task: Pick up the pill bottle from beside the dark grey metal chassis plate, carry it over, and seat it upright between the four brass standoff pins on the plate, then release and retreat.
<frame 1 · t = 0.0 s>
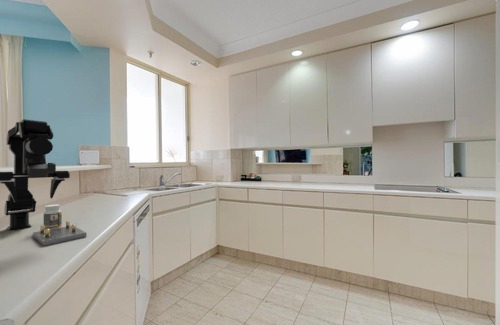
hand: (34, 199, 78), 15 cm above the countertop, fingers open, 9 cm apart
pill bottle: (52, 229, 93), on the countertop
chassis: (59, 236, 83), on the countertop
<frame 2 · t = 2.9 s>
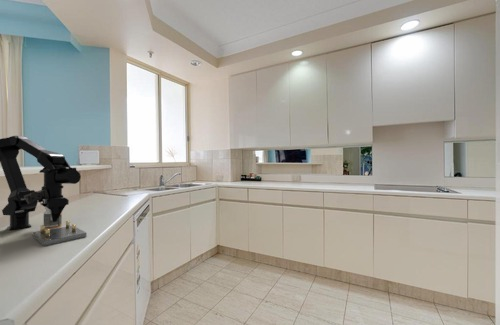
hand: (52, 220, 93), 4 cm above the countertop, fingers closed on pill bottle, 6 cm apart
pill bottle: (52, 229, 93), on the countertop, touching gripper
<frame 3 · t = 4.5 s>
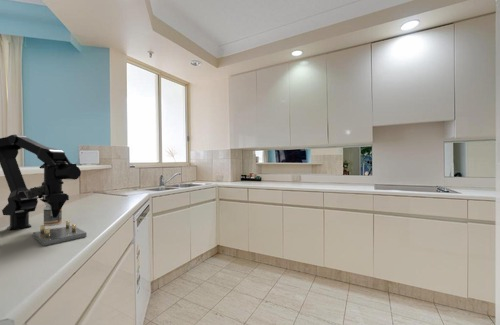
hand: (52, 216, 93), 5 cm above the countertop, fingers closed on pill bottle, 6 cm apart
pill bottle: (52, 225, 93), point 2 cm above the countertop, touching gripper
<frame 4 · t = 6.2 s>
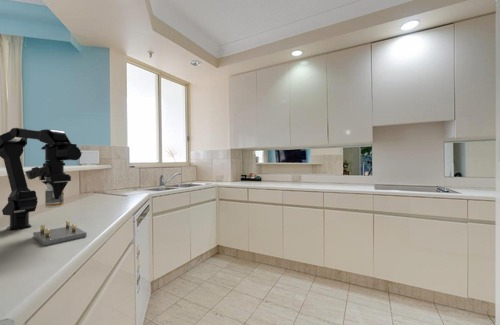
hand: (54, 198, 91), 13 cm above the countertop, fingers closed on pill bottle, 6 cm apart
pill bottle: (54, 207, 91), point 9 cm above the countertop, touching gripper
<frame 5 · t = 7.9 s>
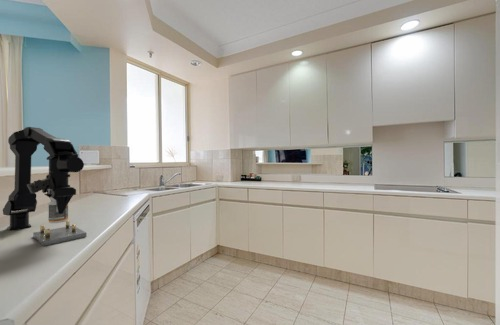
hand: (58, 212, 84), 9 cm above the countertop, fingers closed on pill bottle, 6 cm apart
pill bottle: (58, 222, 84), point 5 cm above the countertop, touching gripper
when the fingers open (6 cm above the countertop, at t = 9.3 s): pill bottle drops 1 cm, resting on chassis.
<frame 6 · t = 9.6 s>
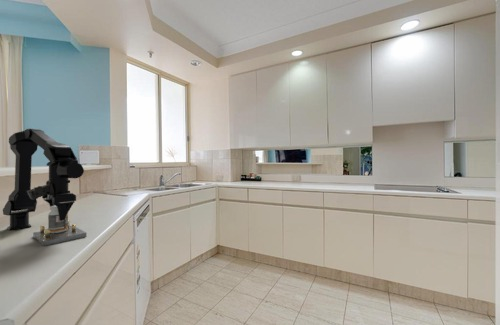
hand: (58, 218, 84), 6 cm above the countertop, fingers open, 9 cm apart
pill bottle: (58, 232, 84), point 1 cm above the countertop, touching chassis
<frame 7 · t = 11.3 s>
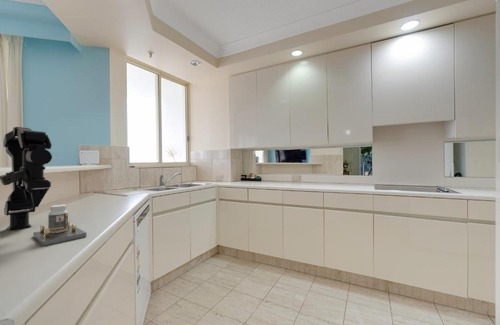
hand: (32, 205, 83), 12 cm above the countertop, fingers open, 9 cm apart
nothing on the countertop moved.
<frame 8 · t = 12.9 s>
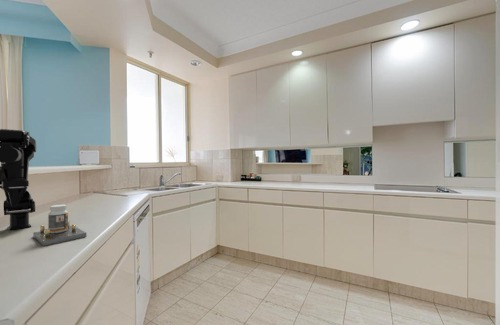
hand: (12, 205, 82), 12 cm above the countertop, fingers open, 9 cm apart
nothing on the countertop moved.
at the end: pill bottle 0.1 cm from the target spot on the chassis, point 1.3 cm above the chassis's base; pill bottle tilted 0°; the gripper is holding nothing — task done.
